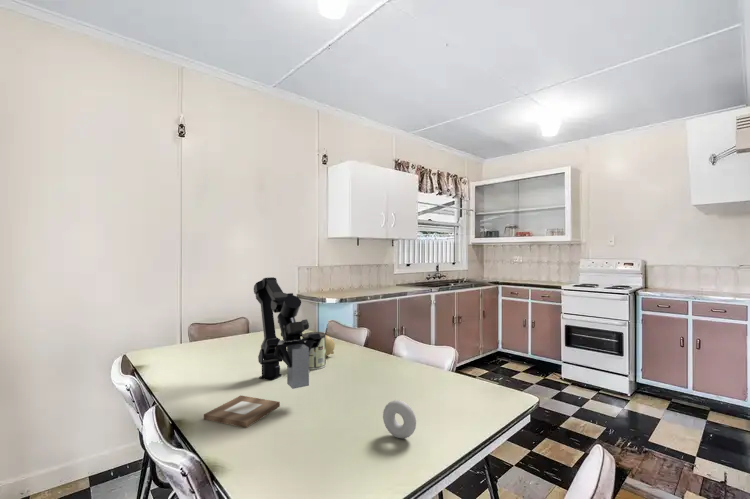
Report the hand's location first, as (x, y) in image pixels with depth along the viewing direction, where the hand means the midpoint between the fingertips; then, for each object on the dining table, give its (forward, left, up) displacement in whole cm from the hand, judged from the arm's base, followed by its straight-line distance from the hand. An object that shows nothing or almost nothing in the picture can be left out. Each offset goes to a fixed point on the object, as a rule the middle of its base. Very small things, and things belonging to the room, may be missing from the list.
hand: (299, 365), depth 123 cm
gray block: (-1, +1, -7) cm, 7 cm away
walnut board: (-14, -10, -13) cm, 22 cm away
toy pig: (-22, +55, -14) cm, 61 cm away
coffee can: (-18, +40, -14) cm, 46 cm away
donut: (+37, -8, -14) cm, 40 cm away
